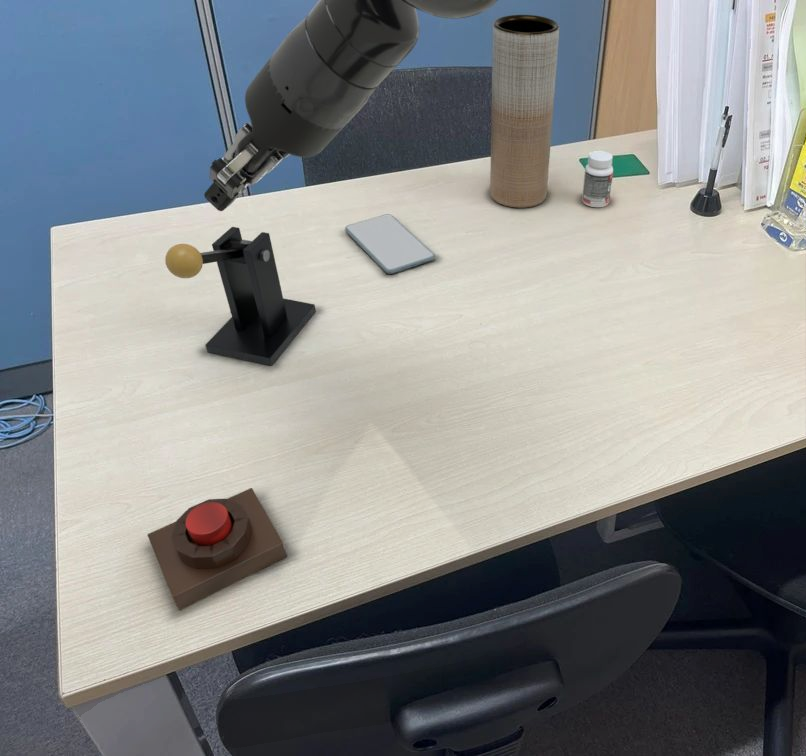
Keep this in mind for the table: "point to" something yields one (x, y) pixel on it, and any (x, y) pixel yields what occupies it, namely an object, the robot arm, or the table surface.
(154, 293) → the table surface
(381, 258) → the smartphone
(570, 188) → the table surface
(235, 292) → the latch bracket
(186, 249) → the latch lever
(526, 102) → the vase
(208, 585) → the block
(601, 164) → the pill bottle
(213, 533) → the release button
